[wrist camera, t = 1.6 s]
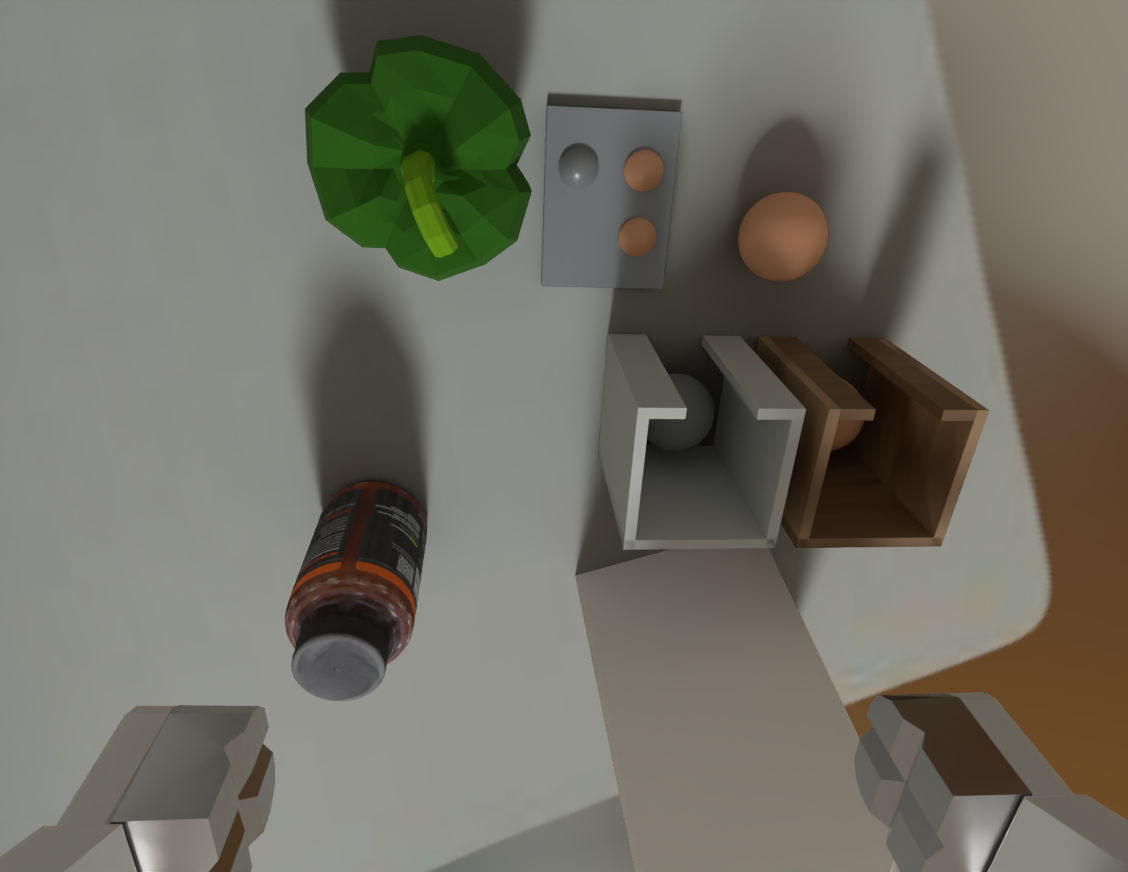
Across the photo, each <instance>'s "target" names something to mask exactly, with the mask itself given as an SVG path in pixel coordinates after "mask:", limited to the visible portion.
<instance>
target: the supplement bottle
mask: <svg viewBox="0 0 1128 872" xmlns="http://www.w3.org/2000/svg"><path fill="white" fill-rule="evenodd" d="M426 536H427V521H426V516H425V514H424V512H423V510H422V508H421V506H420V505H419V503H418V502H417V501H416V500H415V499H414V498H413V497H412V496H411V495H410V494H409V493H407V492H406V491H404V490H403V489H401V488H399V487H396V486H394V485H391V484H387V483H382V482H360V483H356V484H353V485H350V486H348V487H346V488H344V489H342V490H340V491H339V492H337V493H336V494H335V495H334V496H333V497H332V498H331V499H330V500H329V501H328V503H327V504H326V506H325V508H324V510H323V512H322V514H321V516H320V519H319V522H318V524H317V527H316V529H315V532H314V535H313V538H312V540H311V543H310V545H309V548H308V551H307V553H306V556H305V558H304V561H303V564H302V567H301V570H300V572H299V574H298V577H297V580H296V583H295V585H294V587H293V590H292V593H291V596H290V599H289V602H288V605H287V609H286V614H285V626H286V632H287V636H288V638H289V640H290V642H291V644H292V645H293V647H294V648H295V652H294V654H293V657H292V666H291V667H292V672H293V676H294V678H295V680H296V681H297V683H298V684H299V685H300V686H301V687H302V688H303V689H304V690H306V691H307V692H309V693H310V694H312V695H314V696H316V697H319V698H322V699H326V700H331V701H349V700H355V699H358V698H362V697H364V696H366V695H368V694H369V693H371V692H372V691H374V690H375V689H376V688H377V687H378V686H379V684H380V683H381V682H382V680H383V677H384V675H385V671H386V665H387V664H388V663H390V662H391V661H393V660H394V659H395V658H396V657H397V656H399V655H400V653H401V652H402V651H403V650H404V649H405V647H406V646H407V644H408V642H409V640H410V638H411V635H412V631H413V627H414V622H415V614H416V609H417V601H418V594H419V587H420V580H421V573H422V566H423V559H424V552H425V545H426Z"/></svg>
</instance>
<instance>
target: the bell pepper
mask: <svg viewBox="0 0 1128 872" xmlns="http://www.w3.org/2000/svg"><path fill="white" fill-rule="evenodd" d="M305 121H306V143H307V163H308V166H309V169H310V173H311V176H312V179H313V182H314V185H315V188H316V191H317V194H318V197H319V201H320V204H321V207H322V210H323V213H324V216H325V219H326V221H328V222H329V223H330V224H332V225H333V226H334V227H336V228H337V229H339V230H340V231H341V232H343V233H344V234H345V235H347V236H348V237H349V238H351V239H352V240H353V241H355V242H356V243H357V244H359V245H360V246H361V247H369V248H386V250H387V251H388V253H389V254H390V256H391V257H392V258H393V260H394V261H395V263H396V264H397V266H398V267H399V268H402V269H405V270H408V271H411V272H414V273H417V274H420V275H423V276H426V277H429V278H432V279H434V280H437V281H440V280H442V279H445V278H448V277H451V276H454V275H457V274H459V273H462V272H465V271H468V270H471V269H473V268H476V267H479V266H482V265H485V264H486V263H488V262H489V261H490V260H492V259H493V258H494V257H496V256H497V255H498V254H500V253H501V252H502V251H504V250H505V249H506V248H508V247H509V246H510V245H512V244H513V243H514V242H516V241H517V239H518V236H519V233H520V229H521V226H522V222H523V219H524V216H525V212H526V209H527V206H528V202H529V199H530V196H531V192H532V191H531V188H530V186H529V184H528V182H527V180H526V179H525V177H524V176H523V174H522V172H521V171H520V169H519V168H518V166H517V163H518V161H519V159H520V157H521V155H522V153H523V151H524V148H525V146H526V144H527V142H528V140H529V138H530V136H531V134H530V131H529V127H528V123H527V120H526V116H525V113H524V109H523V105H522V102H521V99H520V98H519V97H518V96H517V95H516V94H515V93H514V91H513V90H512V89H511V88H510V87H509V86H508V85H507V84H506V83H505V82H504V80H503V79H502V78H501V77H500V76H499V75H498V74H497V73H496V72H495V71H494V69H493V68H492V67H491V66H490V65H489V64H488V63H487V62H486V61H485V59H484V58H483V57H482V56H481V55H480V54H478V53H475V52H472V51H469V50H465V49H462V48H459V47H456V46H453V45H450V44H447V43H444V42H440V41H437V40H434V39H431V38H428V37H425V36H422V35H420V36H412V37H405V38H398V39H390V40H383V41H377V44H376V48H375V52H374V57H373V61H372V65H371V70H370V73H340V74H339V75H338V76H337V77H336V78H335V79H334V80H333V81H332V82H331V83H330V84H329V85H328V86H327V87H326V88H325V89H324V90H323V91H322V92H321V93H320V94H319V95H318V96H317V97H316V98H315V99H314V100H313V101H312V102H311V103H310V104H309V105H308V106H307V107H306V108H305Z"/></svg>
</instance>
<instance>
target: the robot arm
mask: <svg viewBox="0 0 1128 872" xmlns="http://www.w3.org/2000/svg"><path fill="white" fill-rule="evenodd" d="M867 717H868V718H869V720H870V722H871V724H872V725H873V727H874V728H872V729H871V730H870V731H869V732H868V733H866V734H865V735H864V736H863V737H862V738H860V739H859V742H858V746H857V750H856V754H855V757H854V759H855V773H856V780H857V783H858V787H859V790H860V793H861V796H862V798H863V800H864V802H865V804H866V806H867V808H868V810H869V812H870V813H871V814H872V815H873V816H875V817H876V818H877V819H878V820H880V821H881V822H882V823H883V824H885V825H886V826H887V827H888V828H889V829H888V834H887V840H886V845H887V847H888V849H889V851H890V853H891V855H892V857H893V859H894V861H895V863H896V865H897V867H898V869H899V871H900V872H1128V821H1127V820H1126V819H1124V818H1122V817H1121V816H1119V815H1118V814H1116V813H1114V812H1113V811H1111V810H1110V809H1108V808H1106V807H1105V806H1103V805H1102V804H1100V803H1098V802H1097V801H1095V800H1094V799H1092V798H1090V797H1089V796H1087V795H1074V793H1073V792H1072V791H1071V790H1070V789H1069V787H1068V786H1067V785H1066V784H1065V783H1064V781H1063V780H1062V779H1061V778H1060V776H1059V775H1058V774H1057V773H1056V772H1055V770H1054V769H1053V768H1052V767H1051V766H1050V764H1049V763H1048V762H1047V761H1046V759H1045V758H1044V757H1043V756H1042V755H1041V753H1040V752H1039V751H1038V750H1037V749H1036V747H1035V746H1034V745H1033V744H1032V742H1031V741H1030V740H1029V739H1028V738H1027V737H1026V735H1025V734H1024V733H1023V732H1022V730H1021V729H1020V728H1019V727H1018V725H1017V724H1016V723H1015V722H1014V721H1013V719H1012V718H1011V717H1010V716H1009V715H1008V713H1007V712H1006V711H1005V710H1004V709H1003V707H1002V706H1001V705H1000V704H999V702H998V701H997V700H995V699H994V698H993V697H991V696H990V695H988V694H987V693H954V694H953V693H950V694H907V695H879V696H878V697H877V698H876V699H875V700H874V701H872V703H871V706H870V709H869V712H868V714H867ZM267 730H268V722H267V718H266V713H265V708H263V707H260V706H196V705H179V706H136V707H135V708H133V709H132V710H131V711H130V712H129V713H127V714H126V715H125V716H124V717H123V719H122V721H121V722H120V724H119V725H118V727H117V729H116V730H115V732H114V734H113V735H112V737H111V738H110V740H109V742H108V743H107V745H106V746H105V748H104V750H103V751H102V753H101V754H100V756H99V758H98V759H97V761H96V762H95V764H94V766H93V767H92V769H91V771H90V772H89V774H88V775H87V777H86V779H85V780H84V782H83V783H82V785H81V787H80V788H79V790H78V791H77V793H76V795H75V796H74V798H73V799H72V801H71V803H70V804H69V806H68V807H67V809H66V811H65V812H64V814H63V816H62V817H61V819H60V820H59V822H58V824H57V825H56V826H42V827H41V828H39V829H38V830H37V831H35V832H34V833H33V834H31V835H30V836H28V837H27V838H26V839H24V840H23V841H21V842H20V843H19V844H17V845H16V846H15V847H13V848H12V849H10V850H9V851H8V852H6V853H5V854H3V855H2V856H1V857H0V872H251V869H252V864H251V859H250V853H249V848H248V846H249V845H250V844H251V843H252V842H253V841H254V840H256V839H257V838H258V837H259V836H260V835H261V834H262V833H263V832H264V829H265V826H266V823H267V820H268V816H269V813H270V810H271V804H272V798H273V792H274V786H275V764H274V757H273V752H272V751H271V750H269V749H268V748H267V747H266V746H265V745H264V744H263V741H264V738H265V735H266V733H267Z"/></svg>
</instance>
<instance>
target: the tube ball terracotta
mask: <svg viewBox="0 0 1128 872" xmlns="http://www.w3.org/2000/svg"><path fill="white" fill-rule="evenodd" d="M844 381H845V380H844ZM845 382H846V383H847V384H848V385H849V386H850V387H851V388H853V389H854V390H855V391H856V392H857V393H858V394H859V392H858V391H857V390H856V389H855V388H854V387H853V386H852V385H851V384H850V383H848V382H847V381H845ZM859 395H860V394H859ZM863 423H864V420H838V424H837V428H836V432H835V436H834V440H833V444H832V448H831V451H832V450H836V449H839V448H842V447H844V446H846V445H847V444H849V443H850V442H851V441H853V440H854V439H855V438H856V436H857V435H858V434H859V432H860V430H861V428H862V426H863Z"/></svg>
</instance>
